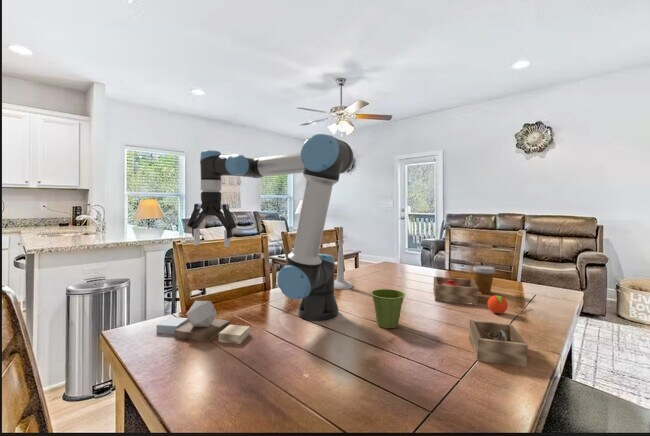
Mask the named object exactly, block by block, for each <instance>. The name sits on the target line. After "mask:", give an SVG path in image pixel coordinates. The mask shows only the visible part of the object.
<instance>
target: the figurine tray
mask: <svg viewBox="0 0 650 436" xmlns="http://www.w3.org/2000/svg"><path fill="white" fill-rule="evenodd" d="M468 329H469V330H468V331H469V332H468V340H469V342H470V345H471V347H472V350H473V353H474V356H475V359H476V361H478V362H485V363H491V364H500V365H506V366H507V365H508V366H514V367H523V368H527V362H528V361H527V360H528V344H527V343H526V341H525V340H524V339H523V337H522V336H521V335H520V332H518V331H517V328H515V326H514V325H513V324H512V323H503V322H493V321H486V320H485V321H484V320H474V319H469V327H468ZM481 330H482V331H483V332H484V333H486V334H487V335H488V333H489V331H491V334H492V337H493V336H494V335H495V332H496V335H497V336H496V337H499V332H500V330H502V331H504V332H505V334H506V337H507V341H500V340H491V339H489V338H488V337H486V336H485V335H484V334H483V333H482V332H481Z"/></svg>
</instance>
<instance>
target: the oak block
mask: <svg viewBox="0 0 650 436" xmlns="http://www.w3.org/2000/svg"><path fill="white" fill-rule="evenodd" d="M250 335H251V327H250V326H248V325H247V326H246V325H238V324H230V325H229V326H227V327H226V328H225V329H223V330H222V331H221V332H220V333H219V335H218V342H219V343H228V344H229V343H230V344H238V345H240V344H242V343H243V342H244V341H245V340H246V339H247V338H248V337H249V336H250Z"/></svg>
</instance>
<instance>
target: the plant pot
mask: <svg viewBox="0 0 650 436" xmlns="http://www.w3.org/2000/svg"><path fill="white" fill-rule="evenodd" d="M370 295H371V296H372V302H373V305H374V312H375V317H376V324H377V326H379V327H380V328H383V329H390V328H391V329H396V328H397V327H398V326H399V321H400V316H401V309H402V306H403V302H404V298H405V297H406V293H405V292H403V291H402V290H397V289H391V288H377V289H373V290H371V292H370Z"/></svg>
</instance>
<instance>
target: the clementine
mask: <svg viewBox="0 0 650 436" xmlns="http://www.w3.org/2000/svg"><path fill="white" fill-rule="evenodd" d="M487 307H488V309H489V310H490V311H491V312H492V313H493V312H494V314H496V313H502V314H503V313H505V312H506V311H507V310H508V307H509V306H508V301H507V300H506V299H505V298H504V297H503V296H501V295H497V294H496V295H492V296H490V297H489V298H488V300H487Z"/></svg>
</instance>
